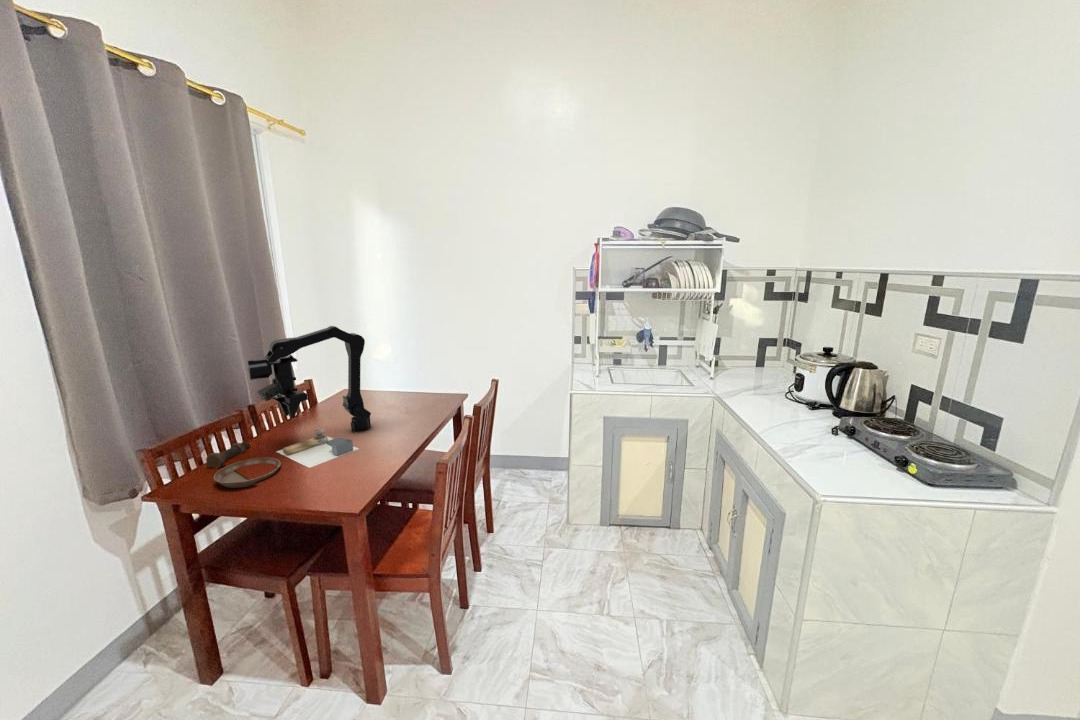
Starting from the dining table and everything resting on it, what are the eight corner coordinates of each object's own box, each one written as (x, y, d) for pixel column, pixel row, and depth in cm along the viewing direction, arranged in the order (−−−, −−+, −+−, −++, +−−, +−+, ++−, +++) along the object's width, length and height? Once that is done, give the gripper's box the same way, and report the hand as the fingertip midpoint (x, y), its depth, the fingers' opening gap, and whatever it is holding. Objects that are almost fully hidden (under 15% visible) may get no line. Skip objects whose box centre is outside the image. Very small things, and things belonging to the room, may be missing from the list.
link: (323, 439, 165) (321, 427, 164) (329, 441, 163) (327, 430, 162) (282, 452, 153) (280, 440, 152) (288, 455, 151) (286, 443, 150)
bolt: (250, 454, 160) (216, 472, 145) (238, 447, 160) (203, 465, 145) (255, 441, 159) (222, 458, 144) (243, 435, 159) (209, 451, 144)
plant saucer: (283, 461, 151) (281, 452, 150) (279, 482, 135) (278, 473, 134) (221, 472, 143) (219, 464, 142) (210, 497, 127) (208, 487, 127)
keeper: (342, 445, 159) (341, 436, 158) (353, 450, 155) (352, 440, 154) (326, 451, 154) (325, 441, 154) (337, 456, 150) (336, 446, 150)
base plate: (325, 437, 170) (325, 435, 170) (359, 451, 157) (359, 448, 156) (276, 454, 155) (276, 451, 155) (309, 470, 142) (309, 467, 142)
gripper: (247, 376, 154) (254, 418, 157) (271, 384, 143) (278, 428, 147) (280, 370, 163) (286, 409, 166) (305, 376, 152) (311, 419, 155)
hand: (289, 416), depth 158 cm, fingers open, 4 cm apart
